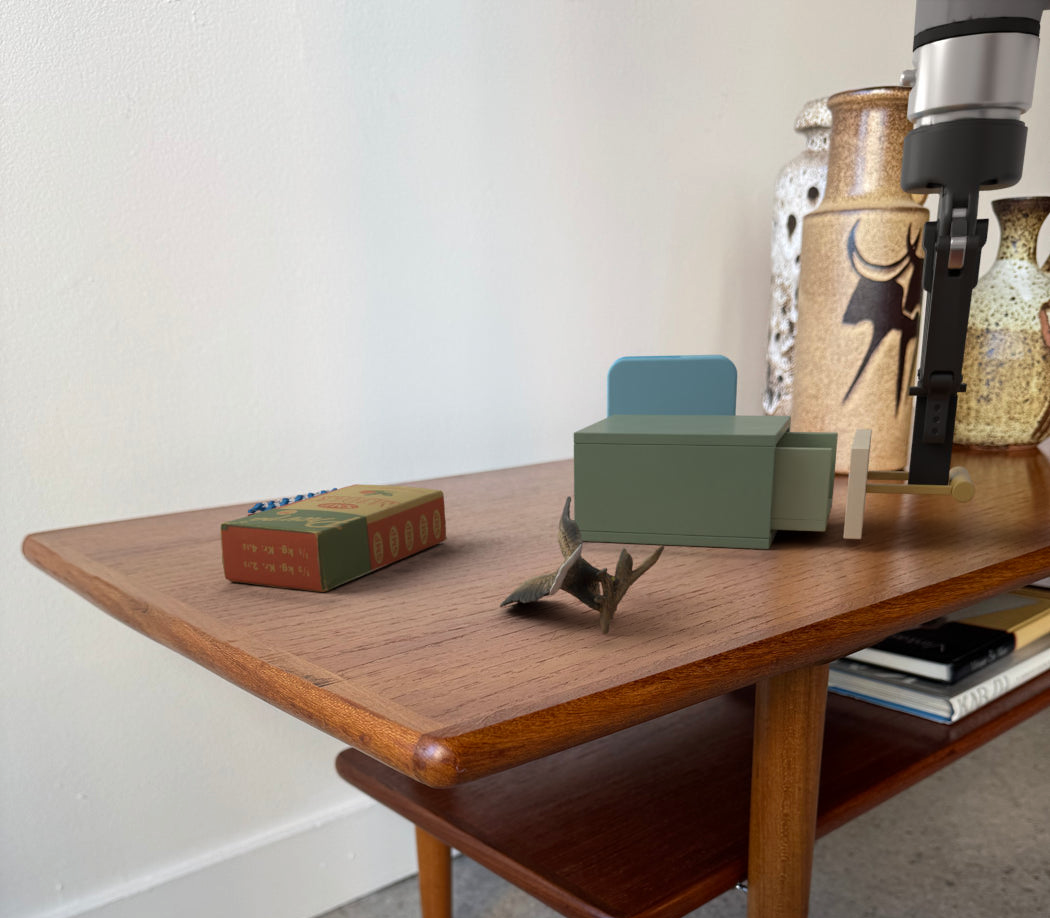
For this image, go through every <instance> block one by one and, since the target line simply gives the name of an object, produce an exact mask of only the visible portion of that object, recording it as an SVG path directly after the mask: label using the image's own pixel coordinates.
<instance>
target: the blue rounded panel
mask: <svg viewBox="0 0 1050 918" xmlns="http://www.w3.org/2000/svg"><path fill="white" fill-rule="evenodd" d="M606 375H607V376H606V418H608V417H610V416H612V415H736V414H737V395H738V394H737V391H738V370H737V367H736V365H735V363H734V362H733V361H732V360H731V359H730V358H729V357H727V356H726V355H722V354H685V355H683V354H681V355H678V354H677V355H637V356H636V355H633V356H622V357H619V358H617V359H616V360H615V361H614V362H613V363H612V364H611V366H610V367H609V368H608V371H607V374H606Z"/></svg>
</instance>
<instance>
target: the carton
mask: <svg viewBox="0 0 1050 918" xmlns="http://www.w3.org/2000/svg"><path fill="white" fill-rule="evenodd" d="M445 507H446V506H445V495H444V492H443V491H442V489H434V488H425V487H424V488H423V487H413V486H402V485H384V484H383V485H381V484H363V483H362V484H360V483H359V484H358V483H357V484H352V485H347V486H344V487H341V488H337V490H334V491H330V492H327V493H324V494H321V495H317V496H314V497H311V498H308V499H304V500H300V501H297V502H294V503H290V504H287V505H284V506H280V507H277V508H273V509H270V510H266V511H263V512H261V511H259V513H258V512H255V513H256V514H253V513H252V514H253V515H250V516H248V515H247V516H244V517H241V518H240V517H239V518H236V519H232V520H228V521H227V520H226V521H223V522H222V523H220V544H221V562H222V569H223V575H224V578H225V580H228V581H229V582H233V583H242V584H250V585H251V584H252V585H258V586H266V587H273V588H280V589H281V588H282V589H290V590H291V589H293V590H301V591H311V592H319V593H320V592H321V593H325V592H329V591H330V590H333V589H334V588H337V587H339V586H341V585H343V584H346V583H349V582H350V581H353V580H355V579H357V578H360V577H363V576H366V575H367V574H370V573H372V572H374V571H377V570H380V569H382V568H383V567H386V566H389V565H391V564H393V563H395V562H397V561H400V560H403V559H405V558H407V557H410V556H411V555H414V554H417V553H419V552H422V551H423V550H426V549H429V548H431V547H434V546H436V545H438V544H441V543H442V542H444V541H447V540H448V536H447V526H446V525H447V521H446V508H445Z"/></svg>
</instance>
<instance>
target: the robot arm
mask: <svg viewBox="0 0 1050 918" xmlns="http://www.w3.org/2000/svg"><path fill="white" fill-rule="evenodd" d="M915 3H916V5H915V14H914V15H915V16H914V26H913V28H914V29H913V41H912V53H913V54H912V59H911V64H912V66H913V68H914V69H905V70H903V71H902V72H901V75H900V77H899V85H900V86H901V87H902V88H911V90H910V92H909V94H908V101H907V111H906V112H907V114H906V119H907V120H908V121H909V122H910V123H911V124H914V125H915V128H913V129H910V131H908V132H907V135H906V136H904V138H903V147H902V158H901V159H902V160H901V172H900V182H899V184H900V188H901V190H902V191H903V192H904V193H906V194H909V195H922V196H923V195H925V196H927V195H938V196H939V197H938V205H937V213H936V220H929V221H925V222H924V224H923V229H922V238H921V239H922V241H921V249H922V251H923V252H924V258H923V269H922V279H921V288H922V289H923V290H924V291H925V292H926V299H925V309H924V319H923V331H922V341H921V350H920V351H921V353H920V363H919V367H918V369H917V374H916V377H917V383H916V385H914V386H913V385H912V386H910V385H909V386H908V395H907V396H908V397H916V398H915V407H914V417H913V428H912V438H911V447H910V459H909V468H908V472H909V476H908V480H907V485H947V486H949V483H948V481H949V472H950V470H951V462H952V454H953V444H954V436H955V429H956V428H955V427H956V418H957V410H958V401H959V395H958V393H967V387H968V384H967V382H964V374H963V366H964V359H965V350H966V344H967V335H968V328H969V320H970V313H971V304H972V297H973V290H974V289H975V288H977V286H978V283H979V276H980V267H981V258H982V252H983V251H982V250H983V248H984V246H985V245H986V244H987V241H988V233H989V226H990V224H989V223H990V218H988V217H987V218H978V213H979V202H980V201H979V200H980V192H988V191H989V192H990V191H991V192H992V191H999V190H1004V189H1008V188H1009V189H1010V188H1012V187H1014V186H1016V185H1018V184H1019V183H1020V181H1021V179H1022V178H1023V174H1024V173H1023V172H1024V164H1025V155H1026V147H1027V140H1028V131H1029V127H1028V126H1026V122H1025V121H1024V120H1021V116H1023V115H1024V114H1026V113H1028V112H1029V111H1030V109H1031V108H1032V107H1033V100H1034V92H1035V84H1036V76H1037V68H1038V60H1039V54H1040V53H1039V51H1040V45H1041V37H1040V34H1041V22H1042V17H1043V13H1044V11H1050V0H916V2H915Z"/></svg>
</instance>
